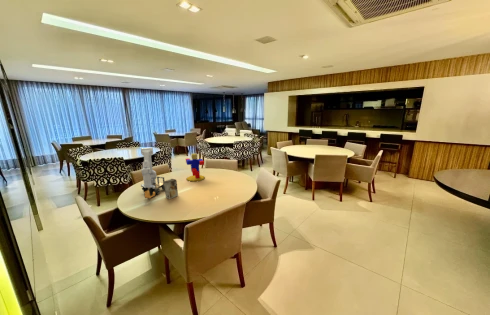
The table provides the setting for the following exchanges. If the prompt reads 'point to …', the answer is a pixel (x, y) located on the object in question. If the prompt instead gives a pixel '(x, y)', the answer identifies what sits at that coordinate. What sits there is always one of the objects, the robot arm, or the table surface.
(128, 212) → the table surface
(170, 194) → the coffee box
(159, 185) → the wooden toy car
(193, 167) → the figurine
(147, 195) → the block
